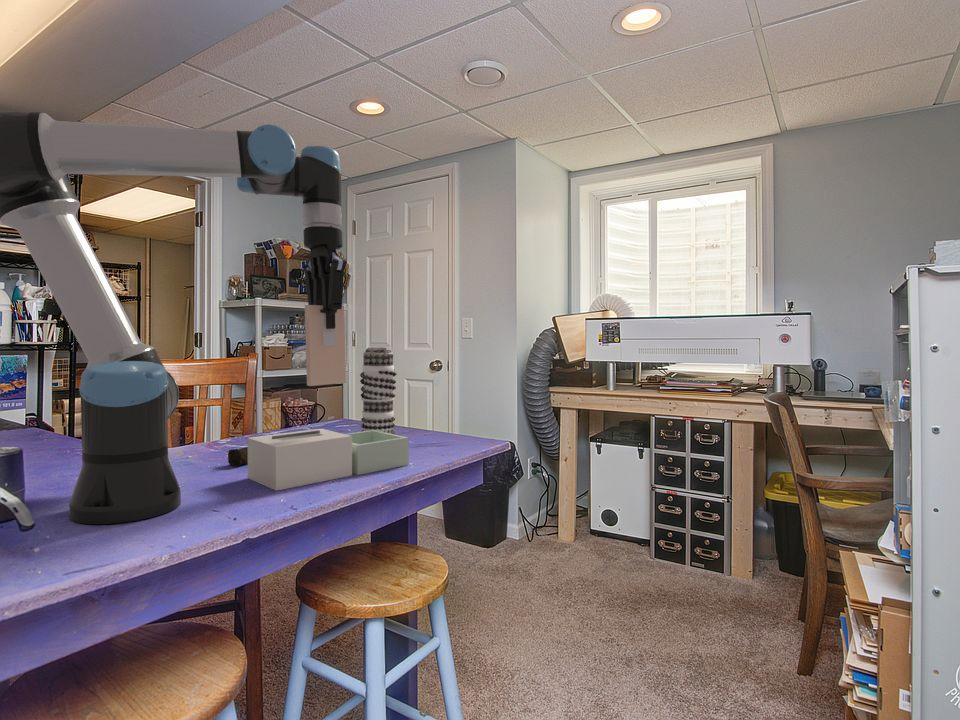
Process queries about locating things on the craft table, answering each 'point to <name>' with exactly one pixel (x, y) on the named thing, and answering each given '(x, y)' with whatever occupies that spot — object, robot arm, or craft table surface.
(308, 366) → the ticket
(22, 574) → the craft table surface
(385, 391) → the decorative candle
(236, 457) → the hand tool
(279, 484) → the dispenser
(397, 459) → the bin
